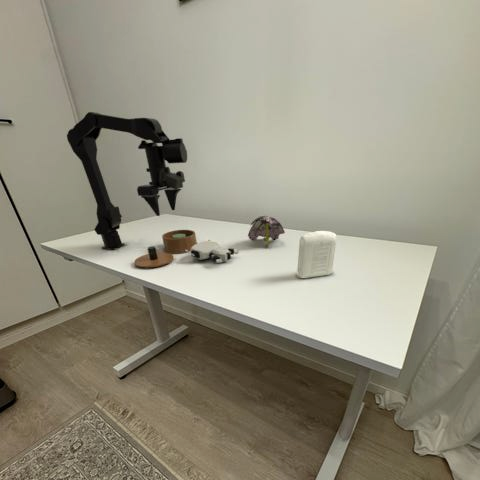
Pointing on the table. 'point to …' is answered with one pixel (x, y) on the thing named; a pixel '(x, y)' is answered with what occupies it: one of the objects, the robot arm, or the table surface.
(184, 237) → the candle
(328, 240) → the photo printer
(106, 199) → the robot arm
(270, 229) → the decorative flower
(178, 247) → the brown shallow round container
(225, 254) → the robot toy
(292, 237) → the table surface
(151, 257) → the wooden lid
